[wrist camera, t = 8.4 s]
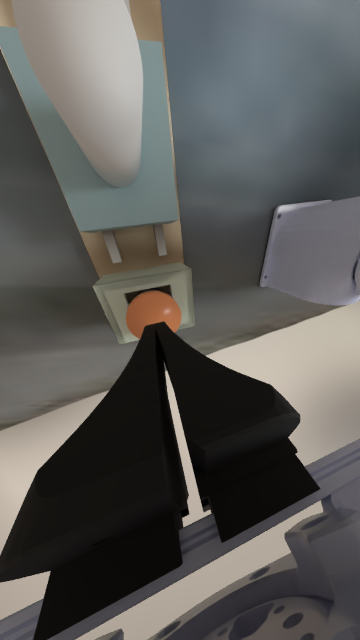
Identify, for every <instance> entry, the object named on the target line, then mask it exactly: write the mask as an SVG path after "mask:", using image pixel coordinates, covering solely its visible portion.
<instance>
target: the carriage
mask: <svg viewBox="0 0 360 640" xmlns="http://www.w3.org/2000/svg"><path fill="white" fill-rule="evenodd" d="M12 6H13V12H14V17H15V22H16V26H17V28H15V27H4V26H0V47H1V50H2V52H3V54H4V56H5V59H6V61H7V63H8V66H9V68H10V70H11V73H12V75H13V77H14V80H15V82H16V84H17V87H18V89H19V91H20V94H21V96H22V98H23V101H24V103H25V105H26V108H27V110H28V112H29V115H30V117H31V119H32V122H33V124H34V126H35V129H36V131H37V133H38V136H39V138H40V140H41V143H42V145H43V147H44V150H45V152H46V154H47V157H48V159H49V161H50V163H51V166H52V168H53V170H54V173H55V175H56V177H57V180H58V182H59V184H60V187H61V189H62V191H63V194H64V196H65V198H66V201H67V203H68V205H69V208H70V210H71V212H72V215H73V217H74V219H75V222H76V224H77V226H78V229H79V231H80V232H87V233H96V232H99V231H108V230H116V229H124V228H132V227H141V226H149V225H157V224H170V223H173V222H175V221H177V220H179V218H178V207H177V197H176V187H175V176H174V166H173V155H172V145H171V135H170V124H169V114H168V103H167V93H166V83H165V72H164V62H163V51H162V42H157V41H147V40H137V36H136V32H135V29H134V26H133V23H132V20H131V17H130V14H129V12H128V9H127V7H126V4H125V2H124V0H12Z"/></svg>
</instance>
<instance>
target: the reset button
mask: <svg viewBox="0 0 360 640" xmlns="http://www.w3.org/2000/svg"><path fill="white" fill-rule="evenodd" d="M163 321H164V322H166V324H167V325H168V326H169V327H170V329H171V330H172V331H173V332H174V333H175V332H176V330H177V329H178V327H179V326H180V323H181V310H180V308H179V306H178V304H177V303H176V301H175V300H174V299H173V298H172V297H171V296H170V295H168V294H167V293H164V292H163V291H162V290H161V289H160V288H158V287H155V288H150V289H144V290H139V291H138V293H137V294H136V297H135V298H134V299H133V300H132V301H131V302H130V304H129V306H128V309H127V314H126V324H127V327H128V329H129V331H130V332H131V333H132V334H133V335H134V336H135V337H137V338H138V339H140V338H141V336H142V333H143V330H144V327H145V326H146V325H150V324H154V323H159V322H163Z"/></svg>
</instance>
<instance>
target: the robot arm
mask: <svg viewBox="0 0 360 640" xmlns="http://www.w3.org/2000/svg"><path fill="white" fill-rule="evenodd" d="M277 216H278V218H277ZM259 285H260V287H266V286H267V287H270V288H273V289H275V290H278V291H281V292H283V293H286V294H289V295H292V296H294V297H297V298H300V299H303V300H306V301H309V302H314V303H319V304H326V305H348V304H353V303H355V302H357V301H359V300H360V196H358V197H353V198H348V199H343V200H338V201H332V200H323V201H314V202H305V203H297V204H288V205H280V206H278V207H277V208H276V209H275V211H274V216H273V221H272V226H271V231H270V235H269V240H268V245H267V250H266V255H265V260H264V265H263V269H262V274H261V279H260V284H259ZM164 362H165V365H166V368H167V371H168V374H169V377H170V380H171V383H172V386H173V389H174V392H175V397H176V401H177V405H178V409H179V413H180V418H181V422H182V426H183V430H184V435H185V439H186V443H187V447H188V451H189V455H190V459H191V463H192V466H193V471H194V475H195V479H196V483H197V487H198V492H199V496H200V499H201V503H202V507H203V511H204V512H206V511H207V510H211V513H212V514H210V515H208V516H206V517H204V518H202V519H200V520H198V521H196V522H194V523H192V524H190V525H188V526H186V527H184V528H183V521H182V518H183V517H185V516H187V515H189V510H188V504H187V499H188V496H189V495H188V491H187V485H186V481H185V476H184V471H183V467H182V462H181V457H180V453H179V448H178V443H177V439H176V434H175V429H174V424H173V419H172V415H171V409H170V404H169V400H168V394H167V385H166V377H165V368H164ZM299 423H300V414H299V413H298V412H297V411H296V410H295V409H294V408H293V407H292V406H291V405H290V404H289V402H288V401H287V400H286V399H285V398H284V397H283V396H282V395H281V394H280V393H279V392H278V391H277V390H276V389H275V388H273V386H271V385H270V384H267V383H265V382H262V381H259V380H257V379H254V378H251V377H249V376H246V375H243V374H241V373H238V372H236V371H234V370H232V369H229V368H227V367H225V366H223V365H221V364H219V363H217V362H215V361H213V360H212V359H210V358H208V357H206V356H205V355H203V354H201V353H200V352H198V351H197V350H195V349H194V348H192V347H191V346H190V345H188V344H187V343H186V342H184V341H183V340H182V339H181V338H180V337H179V336H178V335H176V334H175V333H174V332H173V331H172V330H171V329H170V327H169V326H168V325H167V324H166V322H164V321H163V322H159V323H154V324H150V325H146V326H145V327H144V330H143V333H142V336H141V338H140V340H139V343H138V345H137V347H136V349H135V351H134V353H133V355H132V357H131V359H130V361H129V362H128V364H127V366H126V367H125V369H124V371H123V372H122V374H121V375H120V377H119V378H118V379H117V381H116V382H115V384H114V385H113V386H112V388H111V389H110V391H109V392H108V393H107V395H106V396H105V397H104V398H103V400H102V401H101V402H100V403H99V404H98V406H97V407H96V408H95V409H94V410H93V412H92V413H91V414H90V415H89V417H88V418H87V419H86V420H85V421H84V422H83V423H82V424H81V425H80V426H79V428H78V429H77V430H76V431H75V432H74V433H73V434H72V435H71V436H70V437H69V438H68V439H67V440H66V441H65V443H64V444H63V445H62V446H61V447H60V448H59V449H58V450H57V451H56V452H55V453H54V454H53V455H52V456H51V457H50V458H49V459H48V461H47V462H46V463H45V464H44V465H43V466H42V467H41V468H40V469H39V470H38V471H37V473H36V475H35V478H34V480H33V482H32V484H31V486H30V488H29V490H28V492H27V495H26V497H25V499H24V502H23V504H22V506H21V508H20V511H19V513H18V515H17V518H16V520H15V522H14V525H13V527H12V529H11V532H10V534H9V536H8V539H7V541H6V544H5V546H4V548H3V551H2V553H1V555H0V582H5V581H10V580H15V579H19V578H23V577H27V576H31V575H35V574H39V573H43V572H47V571H51V572H50V576H49V580H48V584H47V588H46V592H45V595H44V598H43V599H42V600H40V601H37V602H35V603H33V604H32V605H30V606H28V607H26V608H24V609H22V610H20V611H18V612H16V613H14V614H12V615H10V616H8V617H6V618H4V619H2V620H0V640H75V639H77V638H78V637H80V636H82V635H84V634H85V633H87V632H89V631H91V630H92V629H94V628H96V627H98V626H99V625H101V624H103V623H105V622H106V621H108V620H110V619H112V618H114V617H115V616H117V615H119V614H121V613H122V612H124V611H126V610H128V609H129V608H131V607H133V606H135V605H136V604H138V603H140V602H142V601H144V600H145V599H147V598H149V597H151V596H152V595H154V594H156V593H158V592H159V591H161V590H163V589H165V588H166V587H168V586H170V585H172V584H173V583H175V582H177V581H179V580H181V579H182V578H184V577H186V576H188V575H189V574H191V573H193V572H195V571H196V570H198V569H200V568H202V567H203V566H205V565H207V564H209V563H210V562H212V561H214V560H216V559H218V558H219V557H221V556H223V555H225V554H226V553H228V552H230V551H232V550H233V549H235V548H237V547H239V546H240V545H242V544H244V543H246V542H247V541H249V540H251V539H253V538H255V537H256V536H258V535H260V534H262V533H263V532H265V531H267V530H269V529H270V528H272V527H274V526H276V525H277V524H279V523H281V522H283V521H284V520H286V519H288V518H290V517H291V516H293V515H295V514H297V513H298V512H300V511H302V510H304V509H306V508H307V507H309V506H311V505H313V504H314V503H316V502H318V501H320V500H321V503H322V507H323V513H320V514H316V515H313V516H310V517H308V518H306V519H303V520H302V521H300V522H299V523H297V524H296V525H295V526H293V527H292V528H291V529H290V530H288V532H286V533H285V540H286V542H287V544H288V546H289V548H290V550H291V552H292V553H290V554H288V555H286V556H284V557H282V558H280V559H278V560H276V561H274V562H273V563H270V564H268V565H266V566H265V567H262V568H260V569H258V570H256V571H255V572H253V573H251V574H249V575H247V576H245V577H243V578H241V579H239V580H237V581H235V582H234V583H232V584H230V585H228V586H227V587H225V588H223V589H222V590H220V591H218V592H216V593H215V594H213V595H212V596H210V597H208V598H207V599H205V600H204V601H202V602H201V603H199V604H198V605H196V606H195V607H193V608H192V609H190V610H189V611H187V612H186V613H185V614H183V615H182V616H180V617H179V618H177V619H176V620H175V621H173V622H172V623H170V624H169V625H168V626H166V627H165V628H163V629H162V630H160V631H159V632H158V633H156V634H155V635H154V636H152V637H151V638H149V639H148V640H360V439H358V440H356V441H354V442H352V443H350V444H348V445H346V446H345V447H342V448H340V449H338V450H336V451H335V452H333V453H331V454H329V455H327V456H325V457H323V458H321V459H319V460H317V461H315V462H313V463H311V464H309V465H307V466H305V467H304V466H303V464H302V463H301V461H300V460H299V459H298V457H297V456H296V455H295V454H296V453H297V449H296V447H295V446H294V445H293V444H292V442H291V441H290V440H289V438H288V437H289V436H290V434H291V433H292V432H293V431H294V430H295V429H296V427H297V426H298V424H299ZM123 636H124V633H123V631H122V629H118V630H116V631H114V632H111V633H108V634H106V635H103V636H101V637H99V638H97V639H95V640H123Z"/></svg>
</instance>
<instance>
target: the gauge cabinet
mask: <svg viewBox="0 0 360 640" xmlns="http://www.w3.org/2000/svg"><path fill="white" fill-rule="evenodd" d="M165 285H170V290H171V297H172V298H173V299H174V300H175V301H176V303H177V304H178V306H179V308H180V310H181V323H180V326H179V327H178V329H177V330H180V329H184V328H187V327H191V326H195V315H194V300H193V284H192V269H191V268H189V267H188V266H186V265H184V264H182V263H180V262H177V263H171V264H165V265H160V266H154V267H148V268H142V269H136V270H130V271H124V272H118V273H113V274H107V275H103V276H102V277H101V278H100V279H99V280H98V281H97V282H96V283H95V284H94V285H93V286H92V287H93V289H94V291H95V293H96V295H97V297H98V299H99V301H100V303H101V306H102V308H103V310H104V312H105V317H107V319H108V321H109V322H110V325H111V327H112V329H113V331H114V333H115V335H116V337H117V339H118V341H119V344H124V343H128V342H132V341H136V340H140V339H138V338H137V337H135V336H134V335H133V334H132V333H131V332H130V331H129V329H128V327H127V324H126V314H127V309H128V306H129V303H128V300H127V298H126V295H125V293H129V292H134V291H139V290H144V289H150V288H155V287H160V286H165Z"/></svg>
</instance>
